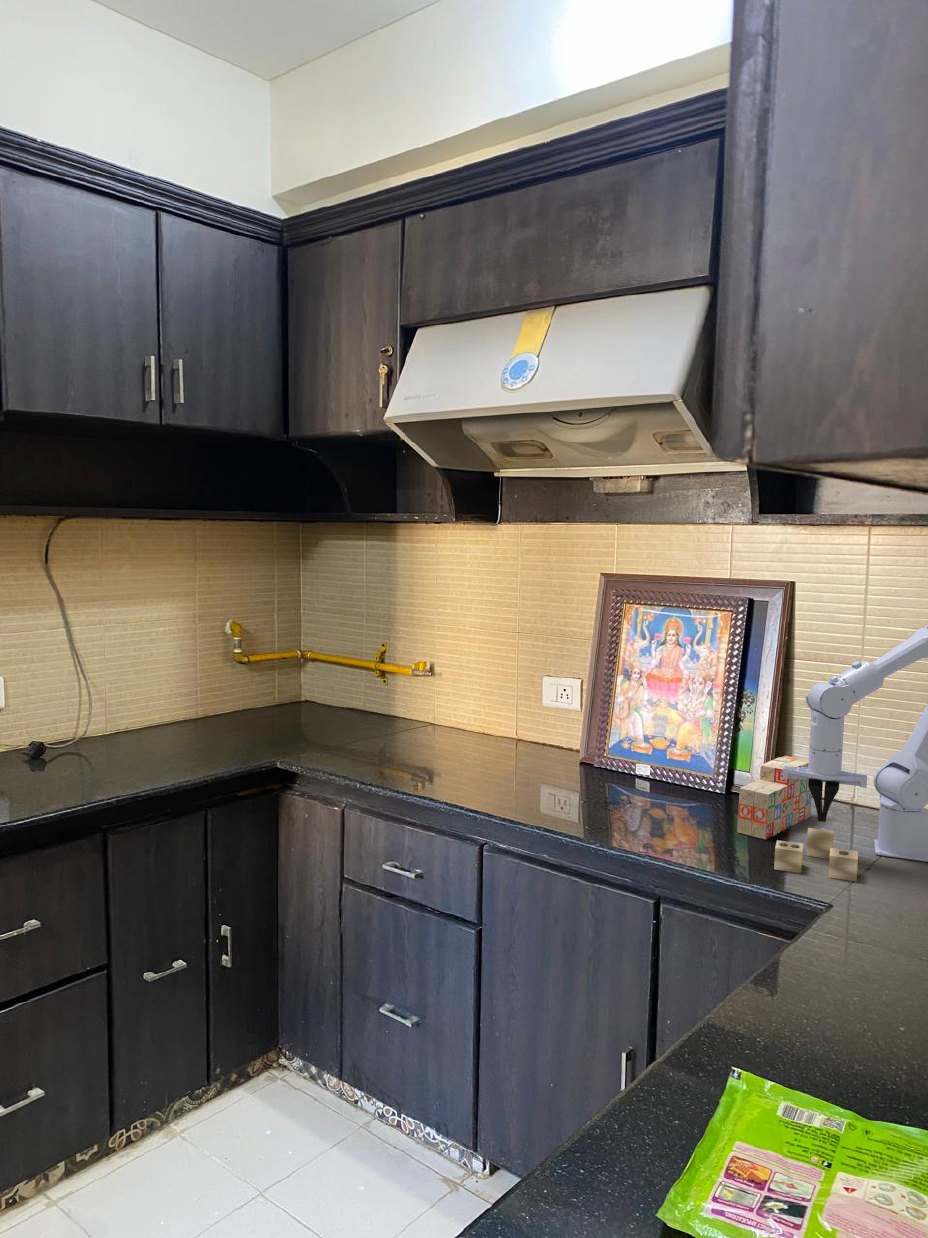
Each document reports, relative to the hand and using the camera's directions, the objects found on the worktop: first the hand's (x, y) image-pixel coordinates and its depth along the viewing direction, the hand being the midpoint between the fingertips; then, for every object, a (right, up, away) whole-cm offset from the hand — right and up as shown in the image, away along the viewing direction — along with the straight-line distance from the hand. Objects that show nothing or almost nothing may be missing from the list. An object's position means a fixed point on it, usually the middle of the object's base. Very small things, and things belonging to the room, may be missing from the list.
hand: (821, 820), depth 172 cm
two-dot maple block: (-9, -7, -7) cm, 13 cm away
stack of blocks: (-3, -5, +17) cm, 18 cm away
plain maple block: (0, -7, +1) cm, 7 cm away
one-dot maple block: (0, -8, -10) cm, 13 cm away
